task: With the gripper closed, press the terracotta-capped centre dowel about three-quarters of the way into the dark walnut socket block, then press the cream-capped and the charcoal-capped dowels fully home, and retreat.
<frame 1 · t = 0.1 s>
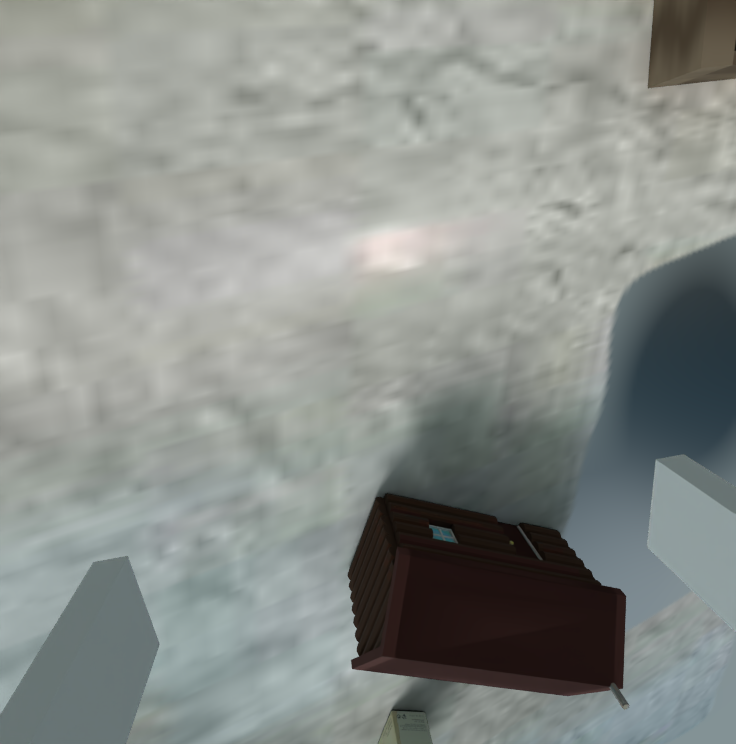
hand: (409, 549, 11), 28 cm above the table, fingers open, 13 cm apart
model building: (454, 550, 47), on the table
skincare box: (401, 727, 55), on the table
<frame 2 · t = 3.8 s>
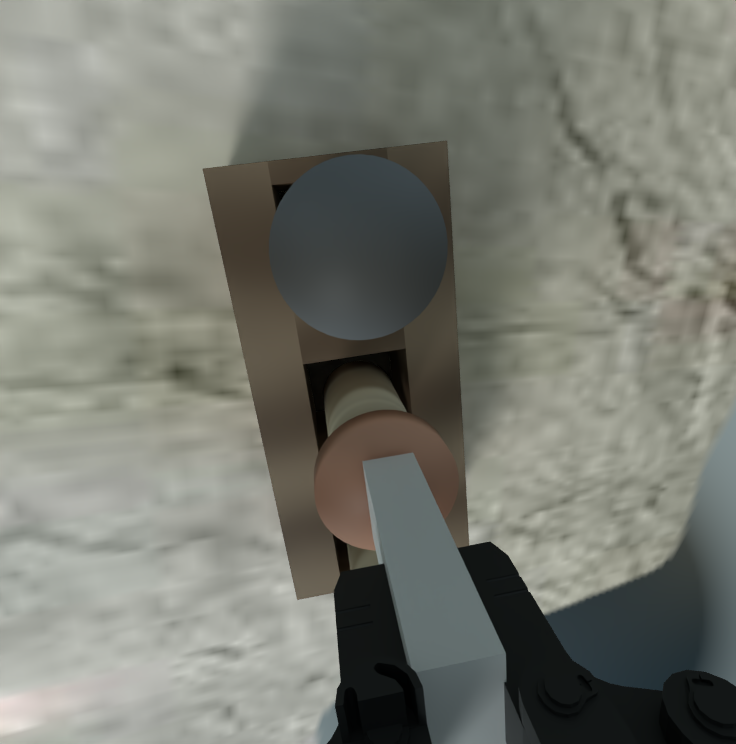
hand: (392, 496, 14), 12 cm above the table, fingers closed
plug cream: (389, 580, 20), point 8 cm above the table, slide at 0.0 cm
plug terracotta: (369, 431, 18), point 8 cm above the table, slide at 0.3 cm, touching gripper
plug charcoal: (345, 243, 15), point 8 cm above the table, slide at 0.0 cm
socket block: (350, 368, 25), on the table
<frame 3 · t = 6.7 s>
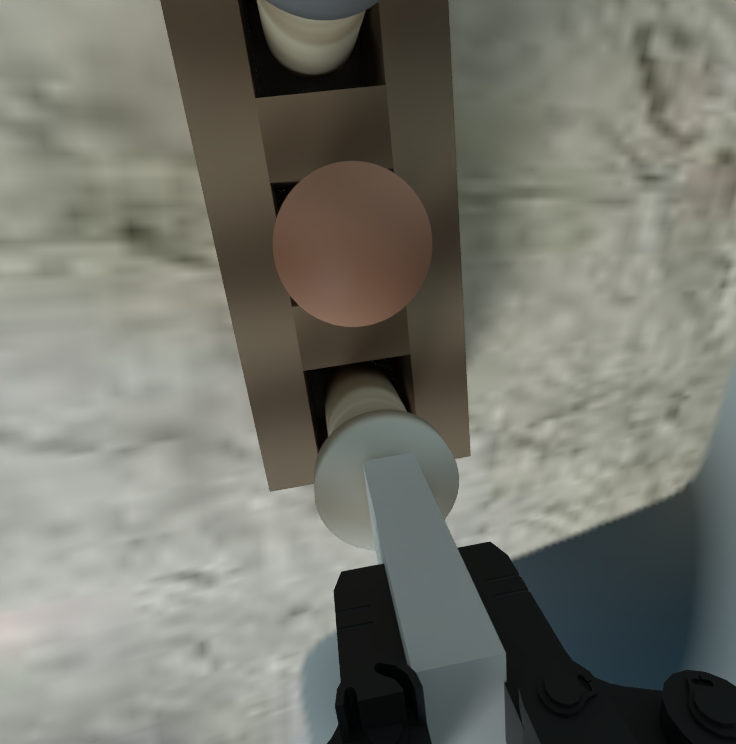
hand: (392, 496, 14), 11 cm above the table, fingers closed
plug cream: (369, 431, 18), point 7 cm above the table, slide at 1.2 cm, touching gripper
plug terracotta: (342, 240, 16), point 6 cm above the table, slide at 2.4 cm
socket block: (332, 234, 22), on the table
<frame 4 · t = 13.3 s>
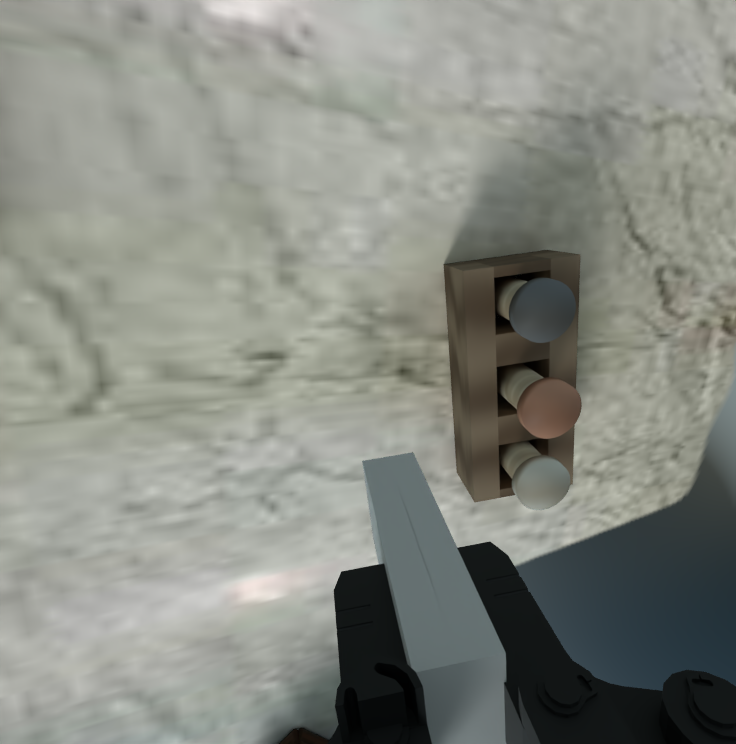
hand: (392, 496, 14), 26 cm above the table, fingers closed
plug cream: (521, 460, 40), point 5 cm above the table, slide at 3.5 cm
plug terracotta: (526, 390, 37), point 6 cm above the table, slide at 2.4 cm
plug charcoal: (519, 301, 35), point 4 cm above the table, slide at 3.5 cm
socket block: (498, 369, 42), on the table
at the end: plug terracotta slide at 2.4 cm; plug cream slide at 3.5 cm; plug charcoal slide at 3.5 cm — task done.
